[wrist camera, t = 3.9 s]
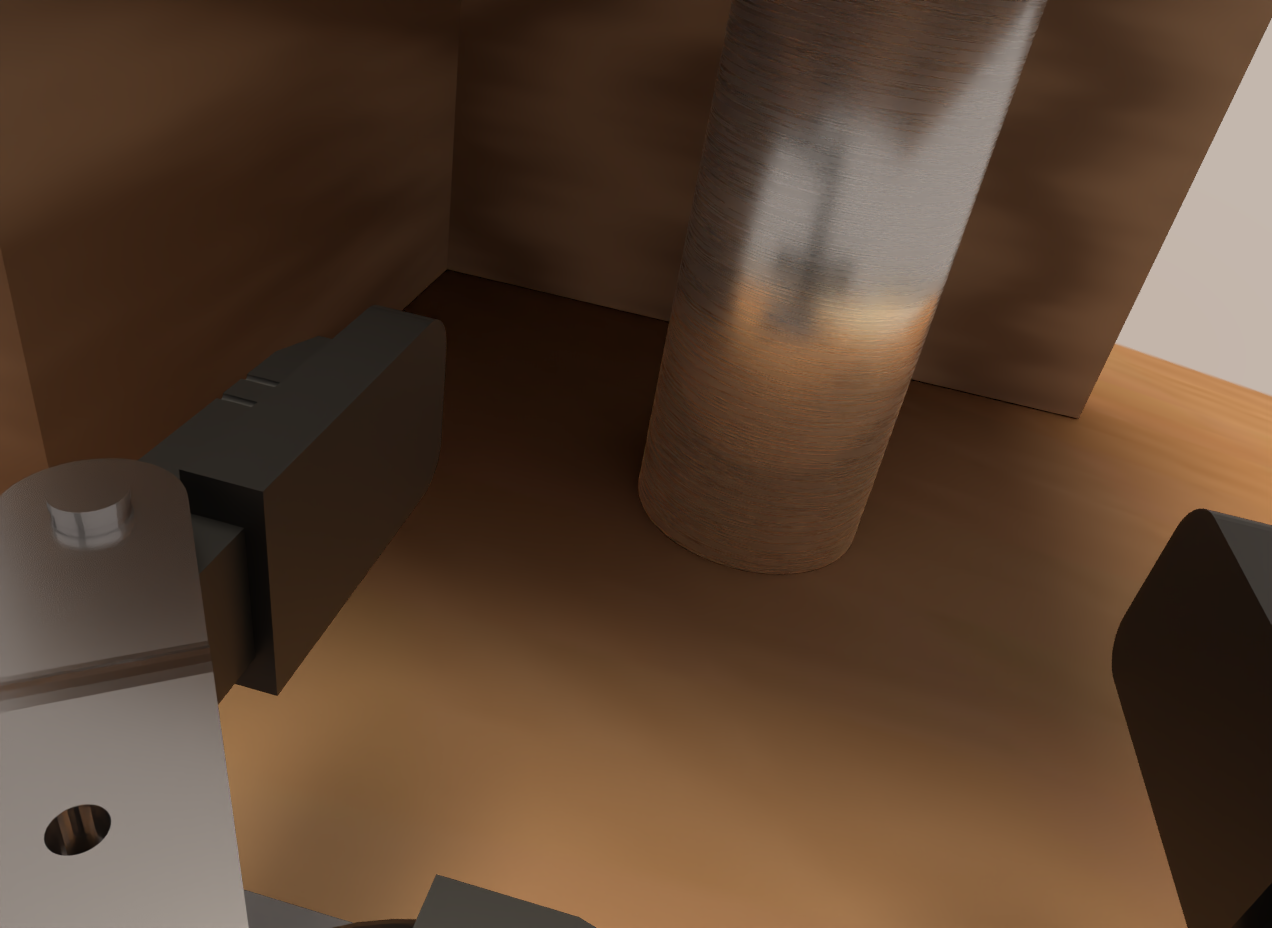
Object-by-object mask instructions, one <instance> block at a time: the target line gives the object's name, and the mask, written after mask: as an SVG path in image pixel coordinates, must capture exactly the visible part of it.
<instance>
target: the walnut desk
mask: <svg viewBox="0 0 1272 928" xmlns="http://www.w3.org/2000/svg"><path fill="white" fill-rule="evenodd" d="M731 2H732V0H0V496H1V494H2V493H3V492H5V491H6V490H7V489H9V488H10V487H11V486H13V485H14V484H15V483H17V482H19V481H21V480H22V479H24V478H26V477H28V476H30V475H32V474H35V473H37V472H39V471H42V470H44V469H47V468H51V467H54V466H57V465H61V464H65V463H69V462H74V461H81V460H88V459H101V458H119V459H130V460H139V459H140V458H141V457H143V456H144V455H145V454H147V453H148V452H149V451H150V450H152V449H153V448H154V447H155V446H157V445H158V444H159V443H160V442H162V441H163V440H164V439H165V438H167V437H168V436H169V435H171V434H172V433H173V432H174V431H176V430H177V429H178V428H179V427H181V426H182V425H183V424H184V423H186V422H187V421H188V420H190V419H191V418H192V417H193V416H195V415H196V414H197V413H198V412H200V411H201V410H202V409H203V408H205V407H206V406H207V405H208V404H210V403H211V402H212V401H214V400H215V399H216V398H218V399H222V396H223V393H224V392H225V391H226V390H227V389H229V388H230V387H231V386H233V385H234V384H235V383H236V382H238V381H239V380H240V379H245V380H246V378H247V374H248V373H249V372H250V371H251V370H253V369H254V368H255V367H257V366H258V365H259V364H260V363H262V362H263V361H264V360H265V359H267V358H268V357H269V356H270V355H272V354H273V353H274V352H276V351H278V350H280V349H283V348H286V347H289V346H292V345H294V344H297V343H300V342H303V341H306V340H308V339H311V338H314V337H317V336H322V337H326V338H330V339H332V338H334V337H335V336H336V335H337V334H338V333H340V332H341V331H342V330H343V329H344V328H345V327H347V326H348V325H349V324H350V323H351V322H352V321H354V320H355V319H356V318H357V317H358V316H360V315H361V314H362V313H363V312H364V311H365V310H367V309H368V308H369V307H371V306H373V305H379V306H384V307H388V308H392V309H396V310H400V311H402V310H403V309H404V308H405V307H406V306H407V305H408V304H409V303H411V302H412V301H413V300H414V299H415V298H416V297H417V296H418V295H419V294H420V293H421V292H422V291H424V290H425V289H426V288H427V287H428V286H429V285H430V284H431V283H432V282H433V281H434V280H436V279H437V278H438V277H439V276H440V275H441V274H442V273H443V272H444V271H445V270H446V269H449V270H453V271H457V272H462V273H466V274H470V275H474V276H479V277H483V278H487V279H491V280H495V281H500V282H504V283H508V284H512V285H517V286H521V287H525V288H529V289H533V290H538V291H542V292H546V293H550V294H555V295H559V296H563V297H567V298H571V299H576V300H580V301H584V302H588V303H593V304H597V305H601V306H605V307H609V308H614V309H618V310H622V311H626V312H631V313H635V314H639V315H643V316H647V317H652V318H656V319H660V320H664V321H670V316H671V311H672V305H673V300H674V295H675V290H676V285H677V280H678V274H679V269H680V264H681V259H682V254H683V249H684V244H685V238H686V233H687V228H688V223H689V218H690V213H691V208H692V202H693V197H694V192H695V187H696V182H697V177H698V172H699V166H700V161H701V156H702V151H703V146H704V141H705V135H706V130H707V125H708V120H709V115H710V110H711V105H712V99H713V94H714V89H715V84H716V79H717V74H718V69H719V63H720V58H721V53H722V48H723V43H724V38H725V32H726V27H727V22H728V17H729V12H730V7H731ZM1271 18H1272V0H1047V3H1046V6H1045V8H1044V11H1043V14H1042V17H1041V20H1040V22H1039V25H1038V28H1037V31H1036V33H1035V36H1034V39H1033V42H1032V45H1031V47H1030V50H1029V53H1028V56H1027V58H1026V61H1025V64H1024V67H1023V70H1022V72H1021V75H1020V78H1019V81H1018V83H1017V86H1016V89H1015V92H1014V95H1013V97H1012V100H1011V103H1010V106H1009V108H1008V111H1007V114H1006V117H1005V120H1004V122H1003V125H1002V128H1001V131H1000V133H999V136H998V139H997V142H996V145H995V147H994V150H993V153H992V156H991V158H990V161H989V164H988V167H987V170H986V172H985V175H984V178H983V181H982V183H981V186H980V189H979V192H978V195H977V197H976V200H975V203H974V206H973V208H972V211H971V214H970V217H969V220H968V222H967V225H966V228H965V231H964V233H963V236H962V239H961V242H960V245H959V247H958V250H957V253H956V256H955V258H954V261H953V264H952V267H951V270H950V272H949V275H948V278H947V281H946V283H945V286H944V289H943V292H942V295H941V297H940V300H939V303H938V306H937V308H936V311H935V314H934V317H933V320H932V322H931V325H930V328H929V331H928V333H927V336H926V339H925V342H924V345H923V347H922V350H921V353H920V356H919V358H918V361H917V364H916V367H915V370H914V372H913V375H912V378H911V379H914V380H918V381H922V382H926V383H930V384H935V385H939V386H943V387H947V388H952V389H956V390H960V391H964V392H969V393H973V394H977V395H981V396H985V397H990V398H994V399H998V400H1002V401H1007V402H1011V403H1015V404H1019V405H1023V406H1028V407H1032V408H1036V409H1040V410H1045V411H1049V412H1053V413H1057V414H1061V415H1066V416H1070V417H1074V418H1078V419H1079V417H1080V414H1081V412H1082V410H1083V408H1084V406H1085V404H1086V402H1087V400H1088V398H1089V396H1090V394H1091V392H1092V390H1093V388H1094V385H1095V383H1096V381H1097V379H1098V377H1099V375H1100V373H1101V371H1102V369H1103V367H1104V365H1105V363H1106V361H1107V358H1108V356H1109V354H1110V352H1111V350H1112V348H1113V346H1114V344H1115V342H1116V340H1117V338H1118V336H1119V333H1120V332H1121V329H1122V327H1123V325H1124V323H1125V321H1126V319H1127V317H1128V315H1129V313H1130V311H1131V309H1132V307H1133V305H1134V302H1135V300H1136V298H1137V296H1138V294H1139V292H1140V290H1141V288H1142V286H1143V284H1144V282H1145V280H1146V277H1147V275H1148V273H1149V271H1150V269H1151V267H1152V265H1153V263H1154V261H1155V259H1156V257H1157V255H1158V253H1159V251H1160V249H1161V246H1162V244H1163V242H1164V240H1165V238H1166V236H1167V234H1168V232H1169V230H1170V228H1171V226H1172V224H1173V222H1174V219H1175V217H1176V215H1177V213H1178V211H1179V209H1180V207H1181V205H1182V203H1183V201H1184V199H1185V197H1186V195H1187V192H1188V190H1189V188H1190V186H1191V184H1192V182H1193V180H1194V178H1195V176H1196V174H1197V172H1198V169H1199V168H1200V166H1201V163H1202V161H1203V159H1204V157H1205V155H1206V153H1207V151H1208V149H1209V147H1210V145H1211V143H1212V141H1213V139H1214V137H1215V134H1216V132H1217V130H1218V128H1219V126H1220V124H1221V122H1222V120H1223V118H1224V116H1225V114H1226V112H1227V109H1228V107H1229V105H1230V103H1231V101H1232V99H1233V97H1234V95H1235V93H1236V91H1237V89H1238V87H1239V85H1240V83H1241V80H1242V78H1243V76H1244V74H1245V72H1246V70H1247V68H1248V66H1249V64H1250V62H1251V60H1252V58H1253V56H1254V54H1255V51H1256V49H1257V47H1258V45H1259V43H1260V41H1261V39H1262V37H1263V35H1264V33H1265V31H1266V29H1267V27H1268V24H1269V22H1270V20H1271Z"/></svg>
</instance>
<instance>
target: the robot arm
mask: <svg viewBox="0 0 1272 928" xmlns="http://www.w3.org/2000/svg"><path fill="white" fill-rule="evenodd" d="M445 363H446V331H445V327H444V324H443V323H442V322H441V321H440V320H437V319H433V318H429V317H425V316H420V315H416V314H412V313H408V312H404V311H400V310H396V309H392V308H388V307H384V306H379V305H373V306H371V307H369V308H368V309H367V310H365V311H364V312H363V313H362V314H361V315H360V316H358V317H357V318H356V319H355V320H354V321H352V322H351V323H350V324H349V325H348V326H347V327H345V328H344V329H343V330H342V331H341V332H340V333H338V334H337V335H336V336H335V337H334V338H332V339H330V338H326V337H322V336H317V337H314V338H311V339H308V340H306V341H303V342H300V343H297V344H294V345H292V346H289V347H286V348H283V349H280V350H278V351H276V352H274V353H273V354H272V355H270V356H269V357H268V358H267V359H265V360H264V361H263V362H262V363H260V364H259V365H258V366H257V367H255V368H254V369H253V370H251V371H250V372H249V373H248V374H247V378H246V380H245V379H240V380H239V381H238V382H236V383H235V384H234V385H233V386H231V387H230V388H229V389H227V390H226V391H225V392H224V393H223V396H222V399H218V398H216V399H215V400H214V401H212V402H211V403H210V404H208V405H207V406H206V407H205V408H203V409H202V410H201V411H200V412H198V413H197V414H196V415H195V416H193V417H192V418H191V419H190V420H188V421H187V422H186V423H184V424H183V425H182V426H181V427H179V428H178V429H177V430H176V431H174V432H173V433H172V434H171V435H169V436H168V437H167V438H165V439H164V440H163V441H162V442H160V443H159V444H158V445H157V446H155V447H154V448H153V449H152V450H150V451H149V452H148V453H147V454H145V455H144V456H143V457H141V458H140V459H139V460H130V459H119V458H101V459H88V460H81V461H74V462H69V463H65V464H61V465H57V466H54V467H51V468H47V469H44V470H42V471H39V472H37V473H35V474H32V475H30V476H28V477H26V478H24V479H22V480H21V481H19V482H17V483H15V484H14V485H13V486H11V487H10V488H9V489H7V490H6V491H5V492H3V493H2V494H1V496H0V928H249V926H248V919H247V912H246V904H245V897H244V890H243V883H242V875H241V868H240V861H239V854H238V847H237V839H236V832H235V825H234V818H233V811H232V803H231V796H230V789H229V782H228V775H227V767H226V760H225V753H224V746H223V739H222V731H221V724H220V717H219V710H218V704H219V703H220V701H221V700H222V699H223V698H224V696H225V695H226V694H227V693H228V691H229V690H230V689H231V688H232V686H233V685H234V684H238V685H241V686H245V687H248V688H252V689H255V690H259V691H262V692H266V693H269V694H273V695H276V696H278V694H279V693H280V692H281V690H282V689H283V687H284V686H285V685H286V683H287V682H288V681H289V679H290V678H291V676H292V675H293V674H294V672H295V671H296V670H297V668H298V667H299V666H300V664H301V663H302V661H303V660H304V659H305V657H306V656H307V655H308V653H309V652H310V650H311V649H312V648H313V646H314V645H315V644H316V642H317V641H318V640H319V638H320V637H321V635H322V634H323V633H324V631H325V630H326V629H327V627H328V626H329V624H330V623H331V622H332V620H333V619H334V618H335V616H336V615H337V613H338V612H339V611H340V609H341V608H342V607H343V605H344V604H345V603H346V601H347V600H348V598H349V597H350V596H351V594H352V593H353V592H354V590H355V589H356V587H357V586H358V585H359V583H360V582H361V581H362V579H363V578H364V577H365V575H366V574H367V572H368V571H369V570H370V568H371V567H372V566H373V564H374V563H375V561H376V560H377V559H378V557H379V556H380V555H381V553H382V552H383V550H384V549H385V548H386V546H387V545H388V544H389V542H390V541H391V540H392V538H393V537H394V535H395V534H396V533H397V531H398V530H399V529H400V527H401V526H402V524H403V523H404V522H405V520H406V519H407V518H408V516H409V515H410V514H411V512H412V511H413V509H414V508H415V507H416V505H417V504H418V503H419V501H420V500H421V498H422V497H423V496H424V494H425V493H426V491H427V489H428V487H429V485H430V483H431V480H432V478H433V475H434V472H435V469H436V466H437V462H438V458H439V453H440V447H441V436H442V418H443V399H444V381H445ZM1112 673H1113V678H1114V682H1115V685H1116V689H1117V692H1118V695H1119V699H1120V702H1121V706H1122V709H1123V712H1124V716H1125V719H1126V722H1127V726H1128V729H1129V732H1130V736H1131V739H1132V742H1133V746H1134V749H1135V753H1136V756H1137V759H1138V763H1139V766H1140V769H1141V773H1142V776H1143V779H1144V783H1145V786H1146V789H1147V793H1148V796H1149V799H1150V803H1151V806H1152V810H1153V813H1154V816H1155V820H1156V823H1157V826H1158V830H1159V833H1160V836H1161V840H1162V843H1163V846H1164V850H1165V853H1166V857H1167V860H1168V863H1169V867H1170V870H1171V873H1172V877H1173V880H1174V883H1175V887H1176V890H1177V893H1178V897H1179V900H1180V904H1181V907H1182V910H1183V914H1184V917H1185V920H1186V924H1187V927H1188V928H1272V525H1268V524H1264V523H1260V522H1256V521H1252V520H1248V519H1244V518H1240V517H1236V516H1232V515H1228V514H1223V513H1219V512H1215V511H1211V510H1207V509H1196V510H1194V511H1192V512H1190V513H1189V514H1188V515H1187V516H1185V517H1184V519H1183V520H1182V521H1181V522H1180V523H1179V525H1178V526H1177V528H1176V530H1175V531H1174V533H1173V535H1172V536H1171V538H1170V540H1169V541H1168V543H1167V545H1166V546H1165V548H1164V550H1163V551H1162V553H1161V555H1160V556H1159V558H1158V560H1157V561H1156V563H1155V565H1154V567H1153V568H1152V570H1151V572H1150V573H1149V575H1148V577H1147V578H1146V580H1145V582H1144V583H1143V585H1142V587H1141V588H1140V590H1139V592H1138V593H1137V595H1136V597H1135V598H1134V600H1133V602H1132V604H1131V605H1130V607H1129V609H1128V610H1127V612H1126V614H1125V615H1124V617H1123V619H1122V621H1121V623H1120V625H1119V628H1118V631H1117V634H1116V637H1115V641H1114V646H1113V652H1112ZM332 928H596V927H594V926H593V925H591V924H589V923H588V922H586V921H584V920H583V919H581V918H579V917H577V916H574V915H570V914H567V913H564V912H560V911H557V910H554V909H550V908H547V907H544V906H540V905H537V904H534V903H530V902H527V901H524V900H520V899H517V898H514V897H510V896H507V895H504V894H500V893H497V892H494V891H490V890H487V889H484V888H480V887H477V886H474V885H470V884H467V883H464V882H460V881H457V880H454V879H450V878H447V877H444V876H440V875H437V874H436V876H435V879H434V881H433V883H432V885H431V888H430V890H429V892H428V894H427V897H426V899H425V901H424V904H423V906H422V908H421V910H420V913H419V915H418V917H417V919H389V920H378V921H367V922H357V923H351V924H347V925H342V926H337V927H332Z"/></svg>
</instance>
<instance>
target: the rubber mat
mask: <svg viewBox="0 0 1272 928" xmlns="http://www.w3.org/2000/svg"><path fill="white" fill-rule="evenodd" d="M244 897H245V904H246V912H247V919H248V926H249V928H332V927H337V926H342V925H347V924H351V923H352V922H349V921H345V920H342V919H339V918H335V917H332V916H329V915H326V914H322V913H319V912H316V911H312V910H309V909H306V908H303V907H299V906H296V905H293V904H289V903H286V902H283V901H280V900H276V899H273V898H270V897H266V896H263V895H260V894H257V893H253V892H250V891H247V890H244Z"/></svg>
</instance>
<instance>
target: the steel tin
mask: <svg viewBox="0 0 1272 928" xmlns="http://www.w3.org/2000/svg"><path fill="white" fill-rule="evenodd" d="M1046 3H1047V0H732V2H731V7H730V12H729V17H728V22H727V27H726V32H725V38H724V43H723V48H722V53H721V58H720V63H719V69H718V74H717V79H716V84H715V89H714V94H713V99H712V105H711V110H710V115H709V120H708V125H707V130H706V135H705V141H704V146H703V151H702V156H701V161H700V166H699V172H698V177H697V182H696V187H695V192H694V197H693V202H692V208H691V213H690V218H689V223H688V228H687V233H686V238H685V244H684V249H683V254H682V259H681V264H680V269H679V274H678V280H677V285H676V290H675V295H674V300H673V305H672V311H671V316H670V321H669V326H668V331H667V336H666V341H665V347H664V352H663V357H662V362H661V367H660V372H659V377H658V383H657V388H656V393H655V398H654V403H653V408H652V414H651V419H650V424H649V429H648V434H647V439H646V444H645V450H644V455H643V460H642V465H641V470H640V475H639V480H638V494H639V499H640V502H641V504H642V506H643V509H644V510H645V512H646V514H647V515H648V517H649V518H650V519H651V521H652V522H653V523H654V524H655V525H656V526H657V527H658V528H659V529H660V530H661V531H662V532H663V533H664V534H665V535H666V536H668V537H669V538H670V539H672V540H673V541H674V542H676V543H677V544H679V545H680V546H682V547H684V548H685V549H687V550H689V551H690V552H692V553H695V554H697V555H699V556H701V557H703V558H705V559H708V560H710V561H713V562H715V563H718V564H721V565H724V566H728V567H731V568H735V569H739V570H744V571H749V572H756V573H764V574H795V573H802V572H808V571H812V570H816V569H819V568H822V567H824V566H827V565H829V564H831V563H833V562H834V561H836V560H837V559H839V558H840V557H841V556H842V555H843V554H844V553H846V551H847V550H848V549H849V547H850V546H851V544H852V541H853V539H854V536H855V533H856V531H857V528H858V525H859V522H860V520H861V517H862V514H863V511H864V508H865V506H866V503H867V500H868V497H869V495H870V492H871V489H872V486H873V483H874V481H875V478H876V475H877V472H878V470H879V467H880V464H881V461H882V458H883V456H884V453H885V450H886V447H887V445H888V442H889V439H890V436H891V433H892V431H893V428H894V425H895V422H896V420H897V417H898V414H899V411H900V408H901V406H902V403H903V400H904V397H905V395H906V392H907V389H908V386H909V383H910V381H911V378H912V375H913V372H914V370H915V367H916V364H917V361H918V358H919V356H920V353H921V350H922V347H923V345H924V342H925V339H926V336H927V333H928V331H929V328H930V325H931V322H932V320H933V317H934V314H935V311H936V308H937V306H938V303H939V300H940V297H941V295H942V292H943V289H944V286H945V283H946V281H947V278H948V275H949V272H950V270H951V267H952V264H953V261H954V258H955V256H956V253H957V250H958V247H959V245H960V242H961V239H962V236H963V233H964V231H965V228H966V225H967V222H968V220H969V217H970V214H971V211H972V208H973V206H974V203H975V200H976V197H977V195H978V192H979V189H980V186H981V183H982V181H983V178H984V175H985V172H986V170H987V167H988V164H989V161H990V158H991V156H992V153H993V150H994V147H995V145H996V142H997V139H998V136H999V133H1000V131H1001V128H1002V125H1003V122H1004V120H1005V117H1006V114H1007V111H1008V108H1009V106H1010V103H1011V100H1012V97H1013V95H1014V92H1015V89H1016V86H1017V83H1018V81H1019V78H1020V75H1021V72H1022V70H1023V67H1024V64H1025V61H1026V58H1027V56H1028V53H1029V50H1030V47H1031V45H1032V42H1033V39H1034V36H1035V33H1036V31H1037V28H1038V25H1039V22H1040V20H1041V17H1042V14H1043V11H1044V8H1045V6H1046Z"/></svg>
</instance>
